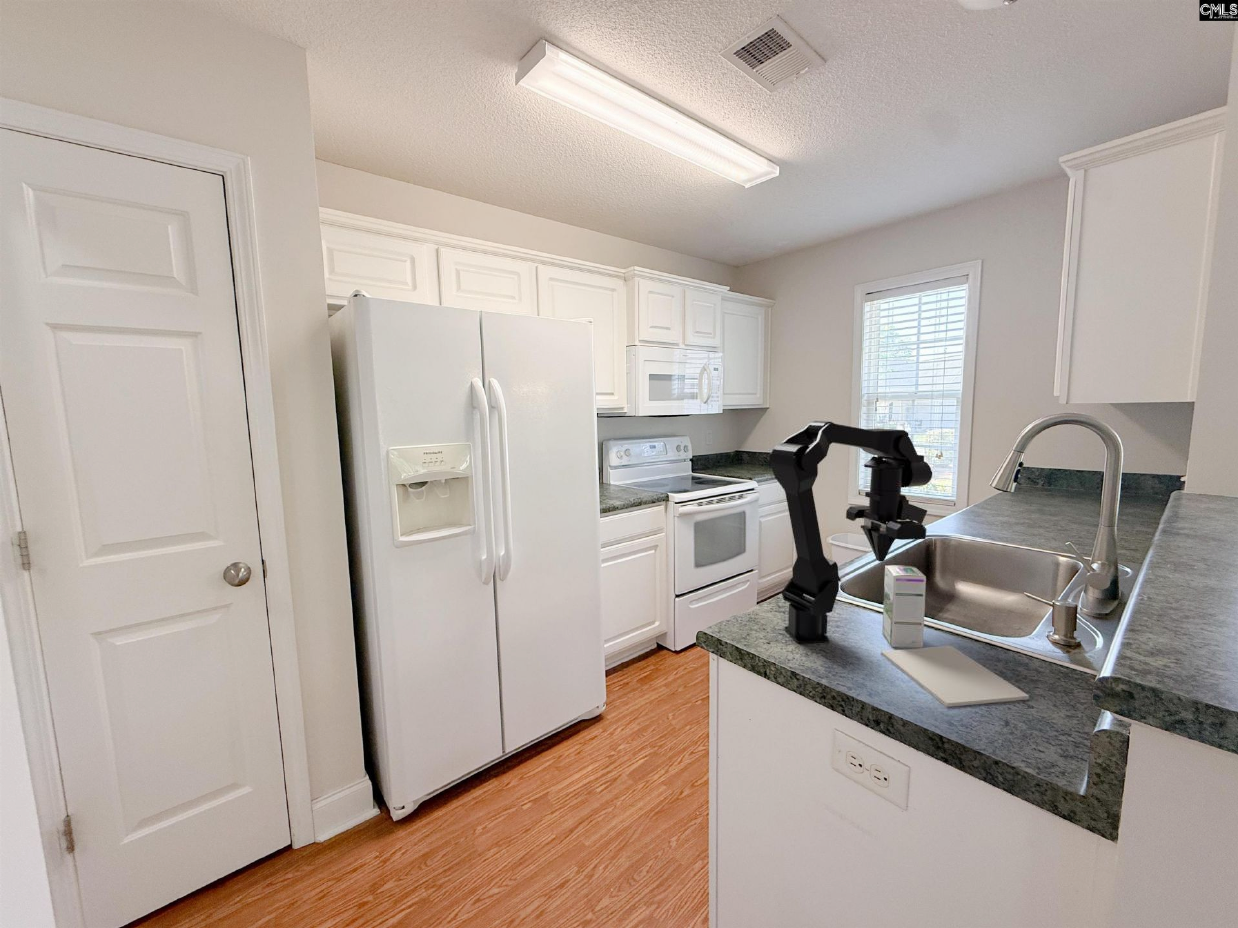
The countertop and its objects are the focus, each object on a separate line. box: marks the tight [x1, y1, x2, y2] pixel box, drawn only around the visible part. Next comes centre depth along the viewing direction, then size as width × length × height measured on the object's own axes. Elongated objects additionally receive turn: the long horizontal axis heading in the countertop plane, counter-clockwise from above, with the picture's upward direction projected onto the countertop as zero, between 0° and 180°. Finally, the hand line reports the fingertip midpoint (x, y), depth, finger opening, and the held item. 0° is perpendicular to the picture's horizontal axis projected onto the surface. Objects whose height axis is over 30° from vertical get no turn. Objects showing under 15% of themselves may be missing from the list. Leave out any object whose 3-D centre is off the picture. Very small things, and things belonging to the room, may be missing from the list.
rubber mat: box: [880, 645, 1030, 708], centre depth 85 cm, size 14×16×1 cm
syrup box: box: [882, 564, 927, 649], centre depth 96 cm, size 6×6×14 cm
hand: (880, 561), depth 106 cm, fingers closed
